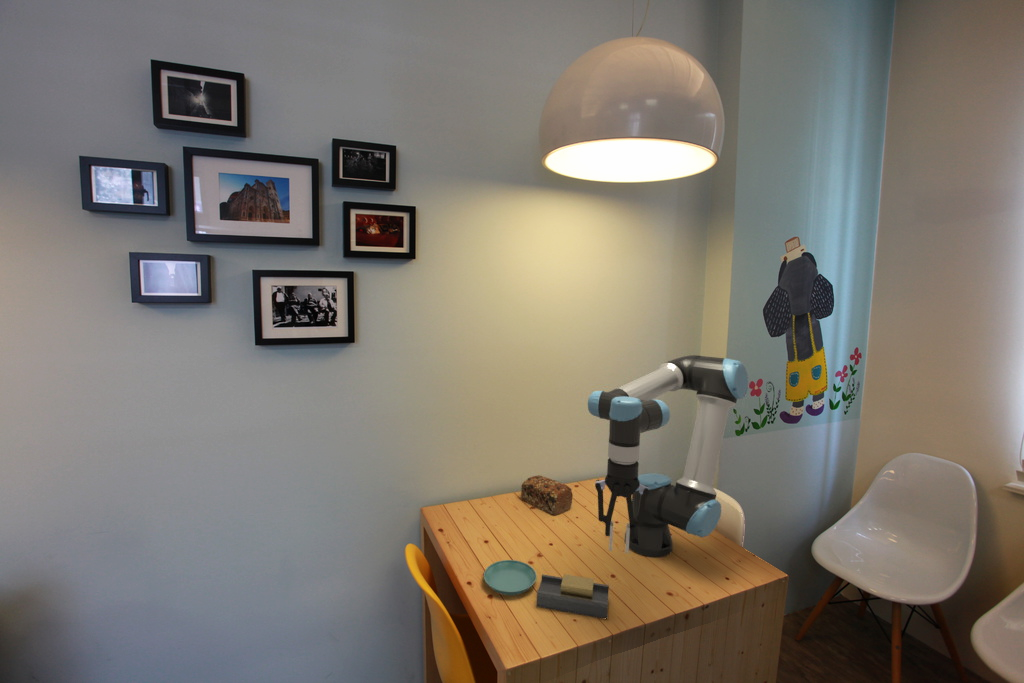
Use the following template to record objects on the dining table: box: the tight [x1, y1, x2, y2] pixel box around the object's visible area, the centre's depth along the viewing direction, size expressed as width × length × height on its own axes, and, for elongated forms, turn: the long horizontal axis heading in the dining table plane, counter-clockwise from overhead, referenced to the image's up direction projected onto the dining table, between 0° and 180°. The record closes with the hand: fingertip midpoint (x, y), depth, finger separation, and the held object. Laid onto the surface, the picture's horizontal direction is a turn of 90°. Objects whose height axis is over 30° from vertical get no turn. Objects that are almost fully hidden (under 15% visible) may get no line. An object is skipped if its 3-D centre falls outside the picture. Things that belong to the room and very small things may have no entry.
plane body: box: [535, 573, 610, 620], centre depth 120 cm, size 18×8×4 cm, turn 77°
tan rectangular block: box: [561, 573, 595, 600], centre depth 120 cm, size 8×5×3 cm, turn 77°
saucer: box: [483, 559, 537, 597], centre depth 128 cm, size 15×15×3 cm
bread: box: [520, 474, 574, 516], centre depth 178 cm, size 19×11×10 cm, turn 41°
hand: (618, 549), depth 116 cm, fingers open, 3 cm apart
